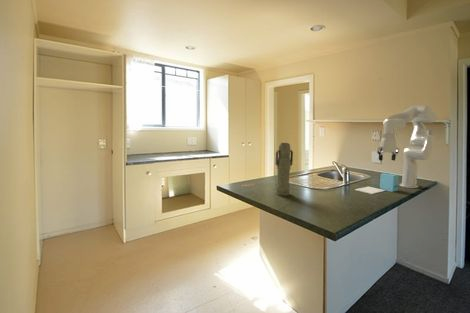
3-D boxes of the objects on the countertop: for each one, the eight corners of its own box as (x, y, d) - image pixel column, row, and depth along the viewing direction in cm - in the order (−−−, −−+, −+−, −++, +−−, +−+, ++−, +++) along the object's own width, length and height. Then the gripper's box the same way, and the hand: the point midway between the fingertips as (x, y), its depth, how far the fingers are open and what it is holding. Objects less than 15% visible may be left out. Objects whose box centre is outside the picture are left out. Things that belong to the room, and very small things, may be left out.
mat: (368, 187, 209) (368, 186, 209) (385, 191, 198) (385, 190, 198) (354, 190, 199) (354, 189, 199) (371, 194, 188) (371, 193, 188)
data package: (397, 192, 196) (399, 175, 195) (392, 192, 195) (394, 176, 193) (384, 188, 208) (385, 172, 206) (379, 188, 206) (380, 172, 205)
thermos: (271, 193, 186) (273, 142, 182) (286, 191, 190) (288, 142, 186) (278, 196, 178) (280, 143, 173) (293, 195, 182) (296, 143, 178)
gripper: (396, 136, 196) (394, 159, 198) (374, 136, 194) (372, 159, 196) (404, 136, 188) (401, 161, 190) (380, 136, 187) (378, 161, 189)
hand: (386, 160), depth 193 cm, fingers open, 9 cm apart
